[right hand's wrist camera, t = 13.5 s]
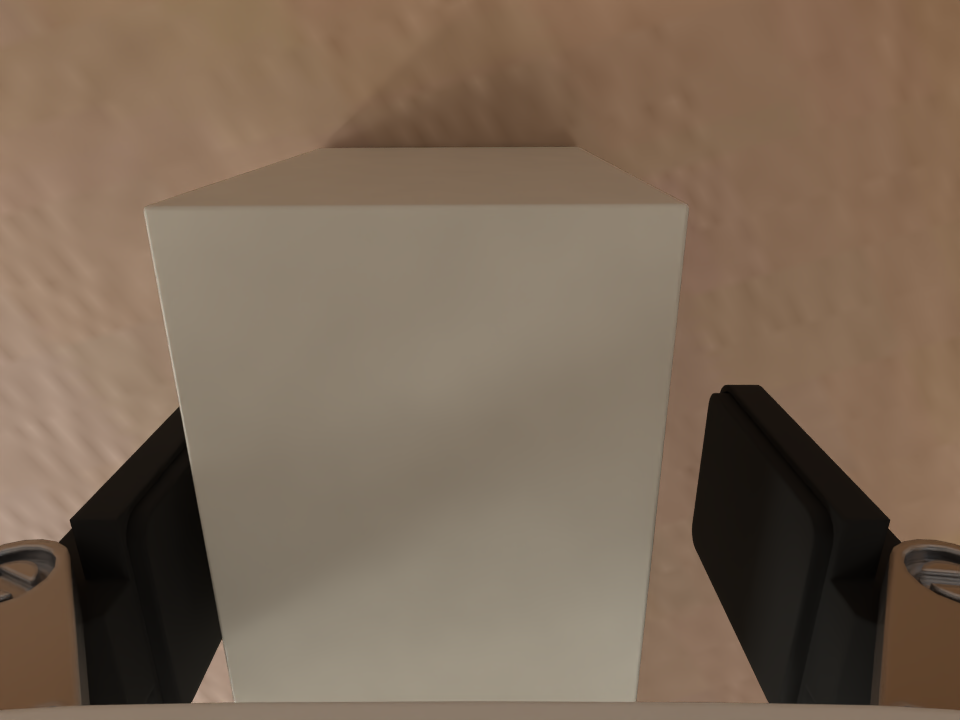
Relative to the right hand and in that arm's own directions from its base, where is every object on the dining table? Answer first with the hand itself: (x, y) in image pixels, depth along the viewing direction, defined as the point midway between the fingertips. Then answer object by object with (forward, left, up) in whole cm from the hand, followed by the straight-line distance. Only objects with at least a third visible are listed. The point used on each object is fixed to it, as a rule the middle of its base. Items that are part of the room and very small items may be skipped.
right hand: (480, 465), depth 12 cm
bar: (+22, -25, -4) cm, 33 cm away
